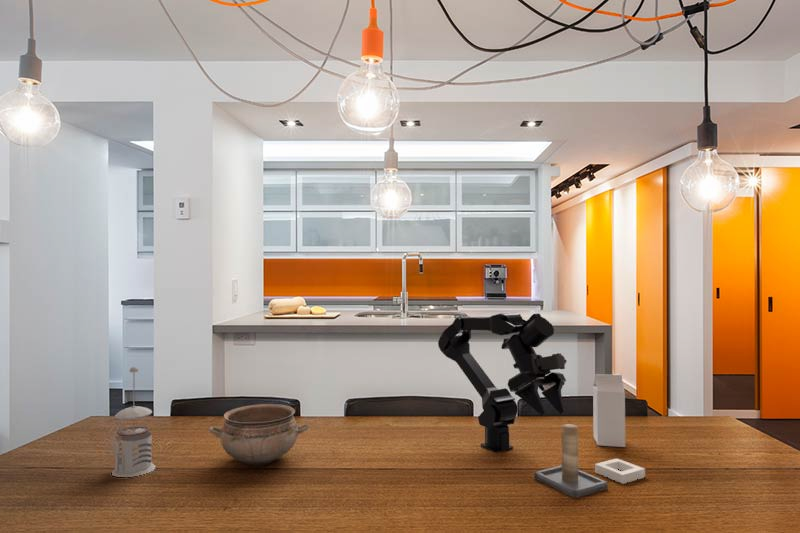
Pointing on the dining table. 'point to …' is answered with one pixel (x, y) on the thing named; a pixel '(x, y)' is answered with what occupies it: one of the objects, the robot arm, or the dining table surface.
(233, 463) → the dining table surface
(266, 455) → the cooking pot
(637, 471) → the socket
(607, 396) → the milk carton
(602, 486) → the tray
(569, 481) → the dowel
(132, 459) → the french press
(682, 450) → the dining table surface
